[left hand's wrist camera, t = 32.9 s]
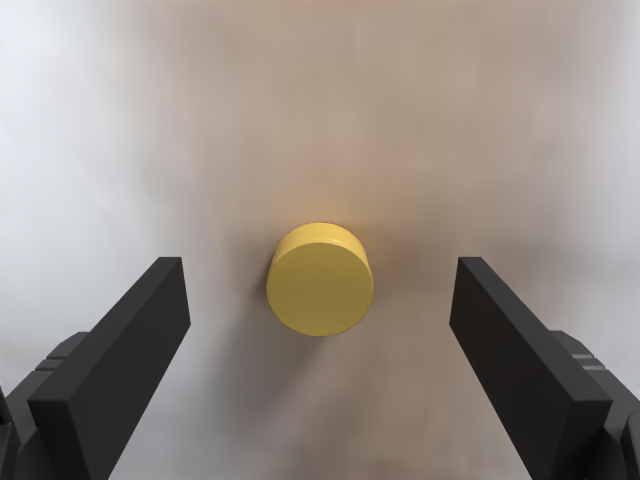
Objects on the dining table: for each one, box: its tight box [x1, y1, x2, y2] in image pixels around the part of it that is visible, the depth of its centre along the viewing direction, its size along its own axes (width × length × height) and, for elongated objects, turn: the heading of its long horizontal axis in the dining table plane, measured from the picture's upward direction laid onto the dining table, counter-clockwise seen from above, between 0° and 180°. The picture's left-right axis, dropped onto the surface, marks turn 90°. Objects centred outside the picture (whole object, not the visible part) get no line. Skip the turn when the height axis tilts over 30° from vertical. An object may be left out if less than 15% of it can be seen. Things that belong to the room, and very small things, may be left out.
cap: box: [266, 223, 374, 336], centre depth 15 cm, size 4×4×2 cm
